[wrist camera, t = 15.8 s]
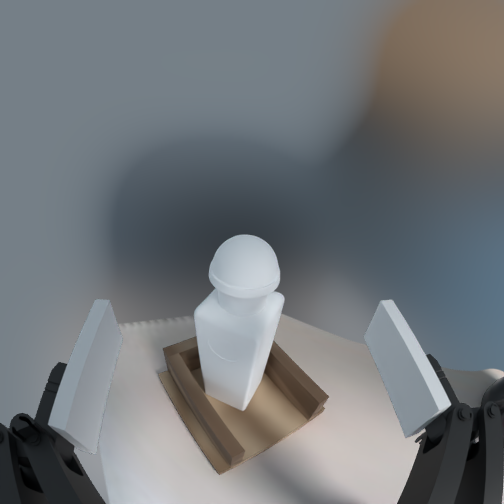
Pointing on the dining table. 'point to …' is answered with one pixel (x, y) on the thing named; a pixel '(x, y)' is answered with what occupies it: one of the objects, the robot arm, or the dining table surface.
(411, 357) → the robot arm
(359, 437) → the dining table surface
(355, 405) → the dining table surface
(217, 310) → the white plastic bottle
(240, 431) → the walnut holder
